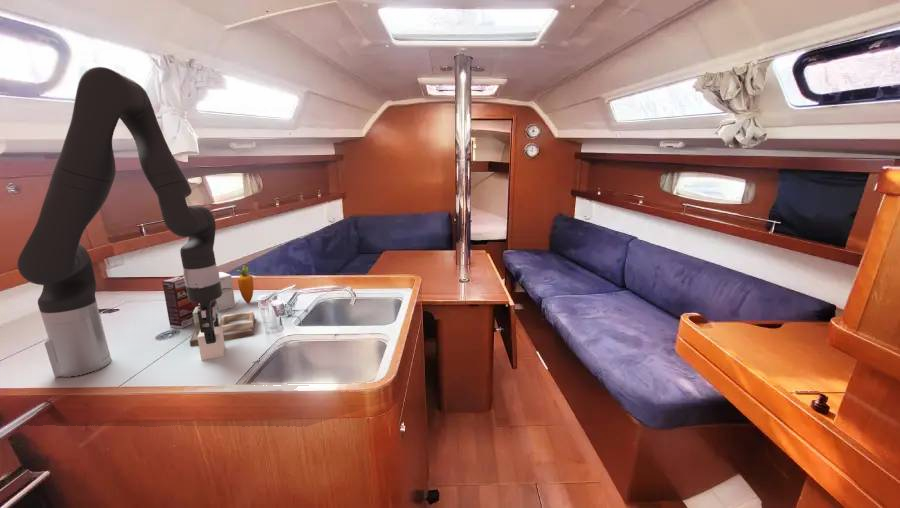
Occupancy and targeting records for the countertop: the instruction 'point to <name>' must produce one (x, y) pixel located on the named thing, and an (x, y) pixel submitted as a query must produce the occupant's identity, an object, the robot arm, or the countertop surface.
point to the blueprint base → (228, 325)
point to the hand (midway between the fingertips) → (213, 335)
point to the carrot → (245, 284)
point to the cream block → (212, 345)
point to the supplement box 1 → (178, 302)
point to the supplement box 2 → (226, 292)
